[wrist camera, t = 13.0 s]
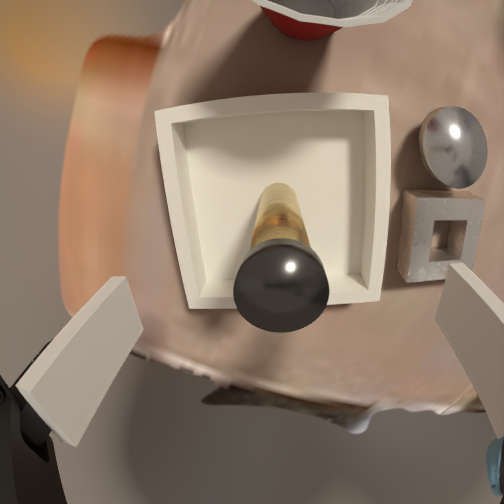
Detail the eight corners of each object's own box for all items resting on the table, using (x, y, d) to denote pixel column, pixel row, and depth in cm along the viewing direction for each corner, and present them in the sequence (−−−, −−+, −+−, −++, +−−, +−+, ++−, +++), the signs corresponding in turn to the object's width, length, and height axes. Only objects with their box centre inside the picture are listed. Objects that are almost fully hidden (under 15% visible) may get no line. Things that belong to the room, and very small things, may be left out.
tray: (368, 278, 27) (379, 300, 24) (199, 286, 29) (189, 308, 25) (371, 99, 20) (387, 95, 17) (172, 112, 22) (154, 111, 19)
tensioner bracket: (457, 263, 26) (472, 278, 22) (396, 267, 26) (408, 285, 23) (469, 113, 19) (490, 114, 16) (402, 102, 20) (419, 100, 17)
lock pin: (301, 218, 24) (328, 328, 11) (259, 222, 25) (240, 334, 12) (298, 177, 23) (329, 246, 10) (254, 181, 23) (225, 255, 10)
